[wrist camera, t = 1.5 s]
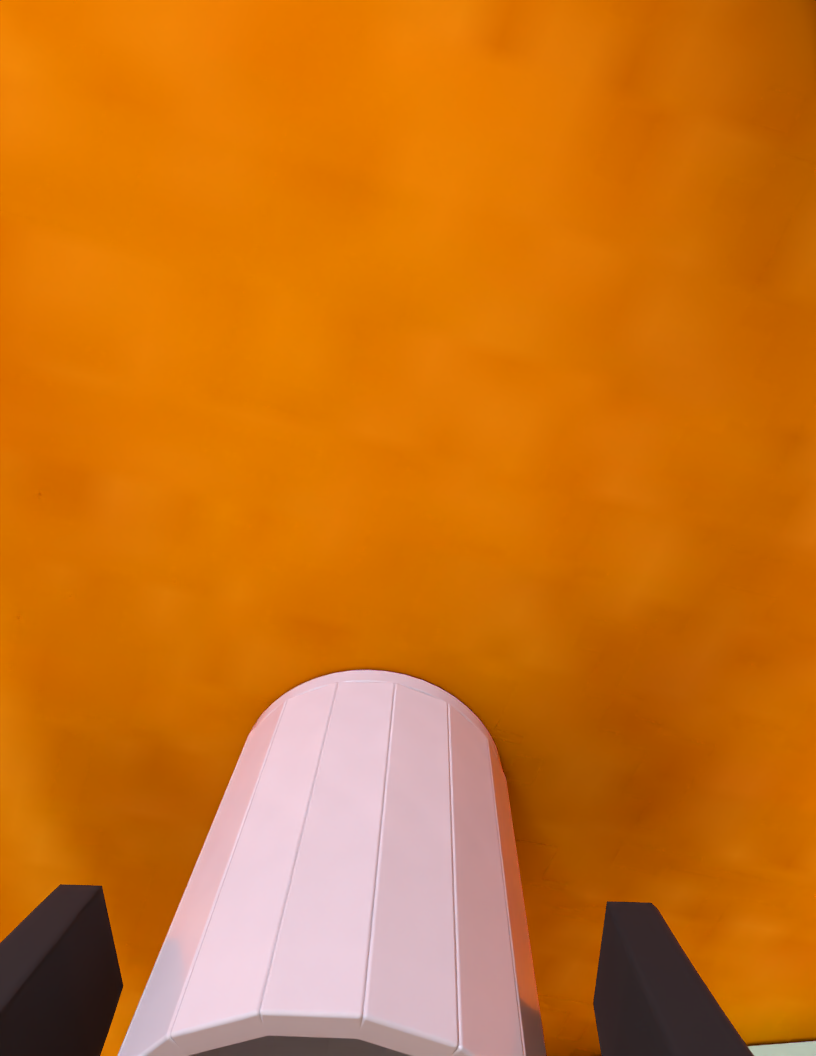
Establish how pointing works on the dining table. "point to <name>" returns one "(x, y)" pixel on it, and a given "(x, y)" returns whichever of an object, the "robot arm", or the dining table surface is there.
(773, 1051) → the blue hardcover book
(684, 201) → the dining table surface
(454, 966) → the white cylindrical tumbler
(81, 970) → the robot arm
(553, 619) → the dining table surface
